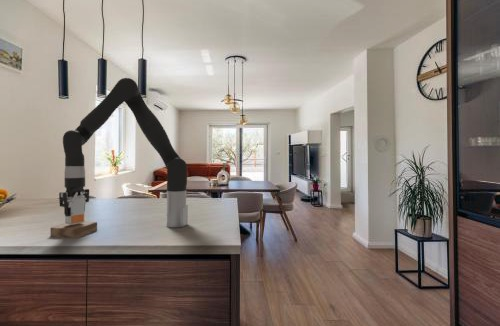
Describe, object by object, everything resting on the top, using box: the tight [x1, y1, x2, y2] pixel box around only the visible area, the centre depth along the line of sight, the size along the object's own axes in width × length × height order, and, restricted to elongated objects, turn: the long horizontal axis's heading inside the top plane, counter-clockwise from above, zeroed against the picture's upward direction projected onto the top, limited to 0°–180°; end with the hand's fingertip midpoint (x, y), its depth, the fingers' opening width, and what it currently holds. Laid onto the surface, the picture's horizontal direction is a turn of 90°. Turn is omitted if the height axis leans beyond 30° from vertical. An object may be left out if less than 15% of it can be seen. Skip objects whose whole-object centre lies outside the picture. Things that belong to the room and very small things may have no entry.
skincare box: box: [64, 195, 86, 225], centre depth 114 cm, size 6×4×12 cm
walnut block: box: [50, 221, 98, 239], centre depth 114 cm, size 12×12×4 cm
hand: (75, 214), depth 114 cm, fingers closed on skincare box, 7 cm apart
